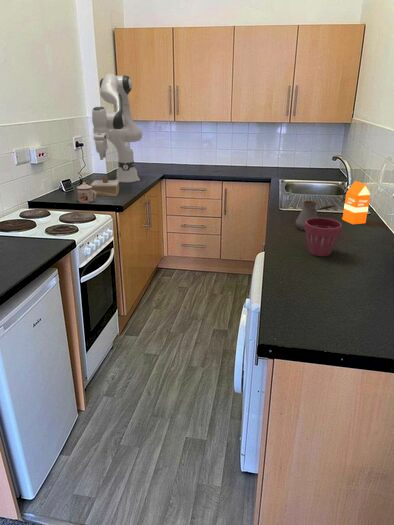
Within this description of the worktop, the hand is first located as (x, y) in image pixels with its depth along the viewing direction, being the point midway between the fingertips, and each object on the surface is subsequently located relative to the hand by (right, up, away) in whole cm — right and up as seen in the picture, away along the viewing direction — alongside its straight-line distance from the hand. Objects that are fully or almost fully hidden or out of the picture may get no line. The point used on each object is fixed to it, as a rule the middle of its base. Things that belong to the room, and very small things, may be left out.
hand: (103, 158), depth 244 cm
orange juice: (+140, -44, -43) cm, 152 cm away
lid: (0, -15, +6) cm, 16 cm away
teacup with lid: (-7, -29, -9) cm, 31 cm away
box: (0, -21, +9) cm, 23 cm away
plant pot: (+109, -61, -83) cm, 150 cm away
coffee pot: (+115, -50, -58) cm, 138 cm away
